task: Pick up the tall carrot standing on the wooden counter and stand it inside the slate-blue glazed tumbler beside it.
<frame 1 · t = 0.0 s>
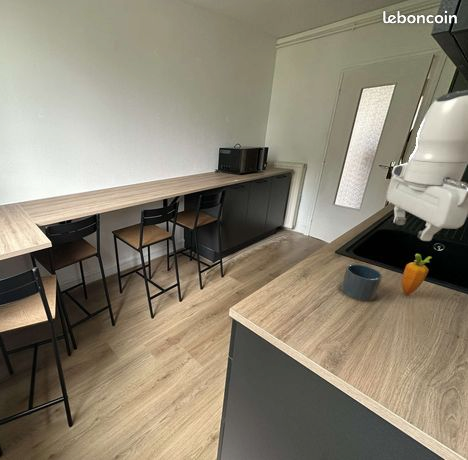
hand: (410, 231, 60), 28 cm above the worktop, tool pointing down, fingers open, 8 cm apart
carrot: (405, 295, 81), on the worktop
tumbler: (357, 292, 83), on the worktop
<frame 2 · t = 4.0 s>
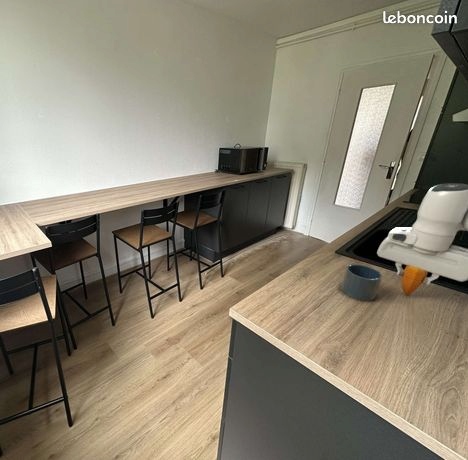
hand: (412, 279, 79), 6 cm above the worktop, tool pointing down, fingers closed on carrot, 5 cm apart
carrot: (405, 295, 81), on the worktop, touching gripper
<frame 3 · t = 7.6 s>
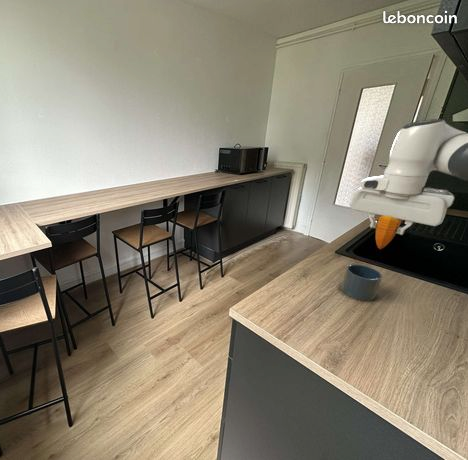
hand: (385, 230, 74), 22 cm above the worktop, tool pointing down, fingers closed on carrot, 5 cm apart
carrot: (379, 249, 76), point 16 cm above the worktop, touching gripper
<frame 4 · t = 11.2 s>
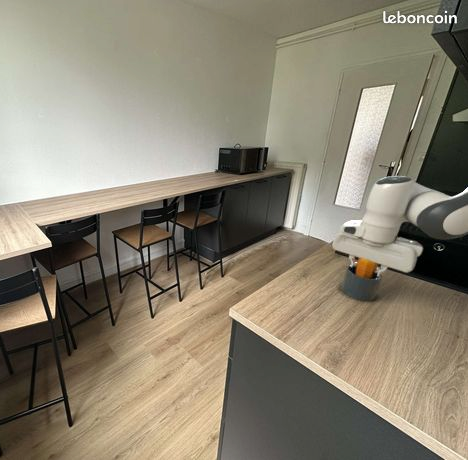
hand: (364, 271, 80), 8 cm above the worktop, tool pointing down, fingers closed on carrot, 5 cm apart
carrot: (359, 287, 82), point 2 cm above the worktop, touching gripper
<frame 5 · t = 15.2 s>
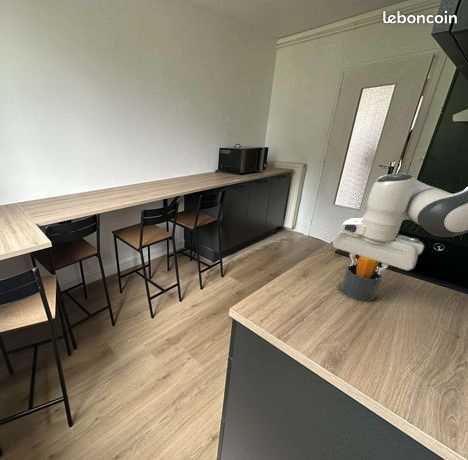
hand: (365, 269, 80), 9 cm above the worktop, tool pointing down, fingers closed on carrot, 5 cm apart
carrot: (360, 286, 82), point 3 cm above the worktop, touching gripper
when the fingers open (9 cm above the worktop, at t = 19.0 s): carrot drops 2 cm, resting on tumbler.
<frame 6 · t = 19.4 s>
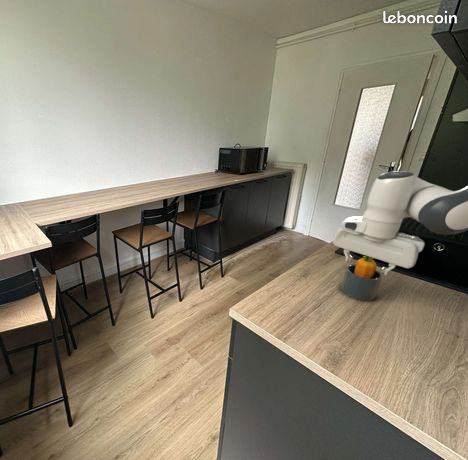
hand: (365, 267, 79), 10 cm above the worktop, tool pointing down, fingers open, 8 cm apart
carrot: (358, 290, 83), point 1 cm above the worktop, touching tumbler
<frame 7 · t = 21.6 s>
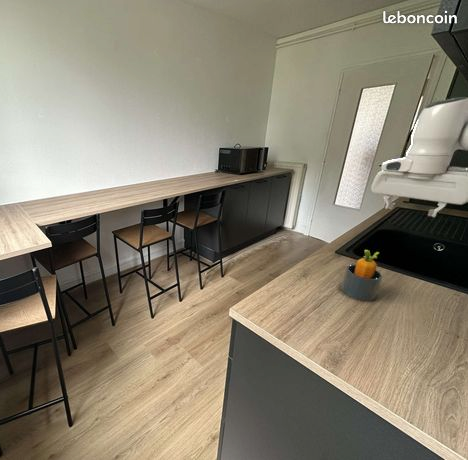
hand: (409, 212, 74), 27 cm above the worktop, tool pointing down, fingers open, 8 cm apart
nothing on the worktop moved.
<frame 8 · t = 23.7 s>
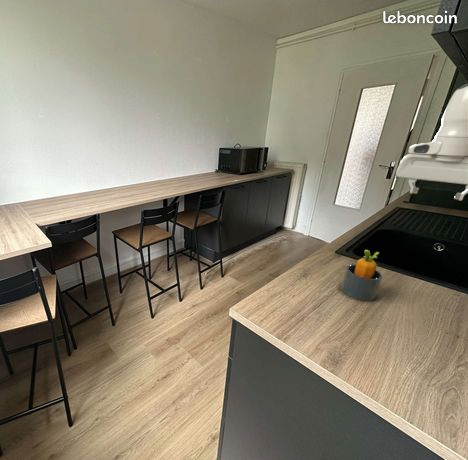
hand: (434, 196, 74), 31 cm above the worktop, tool pointing down, fingers open, 8 cm apart
nothing on the worktop moved.
at the end: carrot 0.1 cm off-centre in the tumbler, point 0.6 cm above the tumbler's base; the gripper is holding nothing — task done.
